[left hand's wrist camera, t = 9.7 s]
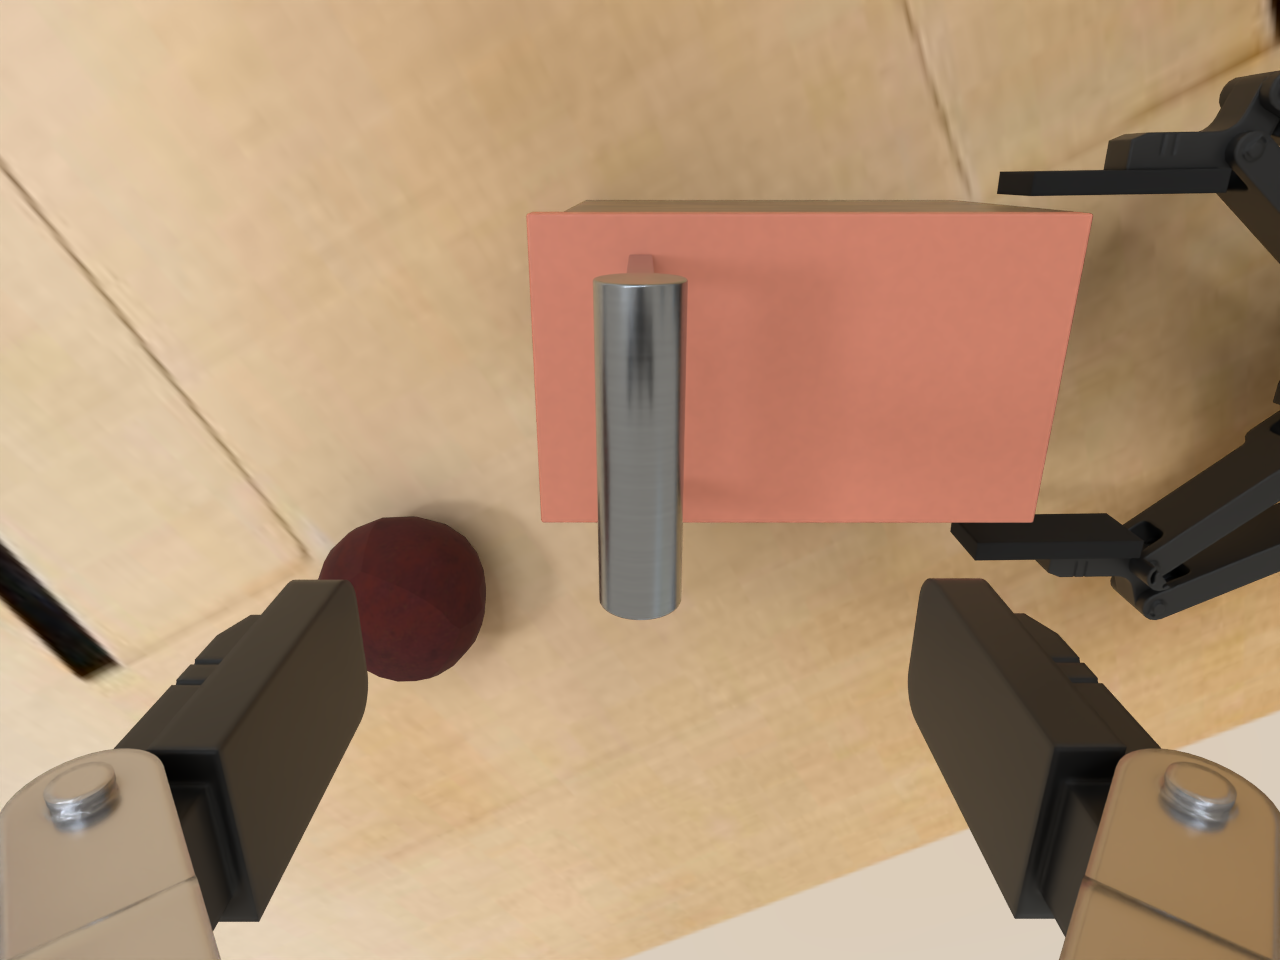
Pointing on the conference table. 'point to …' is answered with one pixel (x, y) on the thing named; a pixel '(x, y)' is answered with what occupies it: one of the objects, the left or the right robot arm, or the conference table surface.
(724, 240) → the lid
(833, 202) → the chest
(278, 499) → the conference table surface
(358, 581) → the dark red ball
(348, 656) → the left robot arm
